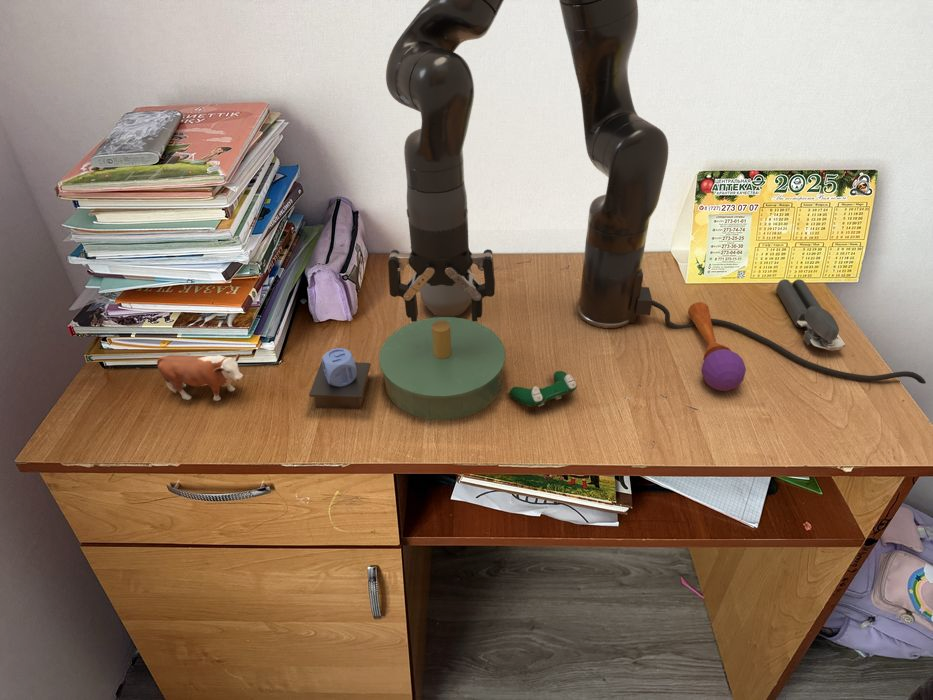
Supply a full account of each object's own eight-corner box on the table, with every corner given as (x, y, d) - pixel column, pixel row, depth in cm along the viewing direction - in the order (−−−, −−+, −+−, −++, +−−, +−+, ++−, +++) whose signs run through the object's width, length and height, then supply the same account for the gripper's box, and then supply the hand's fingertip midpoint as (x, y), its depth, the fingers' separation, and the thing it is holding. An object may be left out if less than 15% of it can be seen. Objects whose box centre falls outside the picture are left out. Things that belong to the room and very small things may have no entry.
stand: (375, 379, 102) (372, 361, 100) (365, 416, 96) (362, 397, 94) (323, 377, 102) (319, 359, 100) (310, 414, 96) (306, 396, 94)
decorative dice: (331, 390, 95) (327, 368, 92) (324, 373, 98) (319, 352, 95) (358, 382, 96) (355, 360, 94) (350, 366, 99) (347, 344, 97)
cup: (464, 289, 121) (463, 240, 115) (483, 317, 114) (483, 267, 108) (413, 300, 118) (410, 251, 112) (430, 330, 112) (427, 279, 105)
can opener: (844, 359, 104) (858, 326, 100) (811, 359, 104) (824, 326, 100) (800, 291, 119) (811, 260, 115) (771, 291, 119) (781, 260, 115)
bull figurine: (247, 412, 97) (234, 369, 92) (163, 400, 99) (145, 357, 94) (260, 392, 100) (249, 349, 95) (178, 381, 102) (163, 339, 97)
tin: (503, 347, 108) (504, 322, 105) (501, 424, 94) (501, 399, 91) (394, 344, 109) (392, 320, 106) (376, 420, 95) (373, 395, 92)
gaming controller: (514, 414, 98) (531, 411, 92) (505, 389, 98) (522, 385, 93) (567, 394, 101) (586, 389, 96) (558, 370, 102) (577, 364, 96)
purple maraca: (722, 298, 110) (757, 369, 94) (708, 328, 114) (740, 402, 97) (687, 291, 110) (716, 361, 94) (674, 322, 114) (700, 394, 97)
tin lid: (506, 324, 105) (507, 291, 102) (503, 404, 91) (504, 369, 87) (390, 321, 107) (386, 288, 103) (369, 400, 92) (364, 365, 88)
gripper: (494, 200, 87) (495, 303, 97) (386, 201, 88) (398, 303, 98) (493, 228, 81) (494, 334, 92) (377, 229, 82) (391, 334, 92)
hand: (444, 318), depth 95 cm, fingers open, 8 cm apart
